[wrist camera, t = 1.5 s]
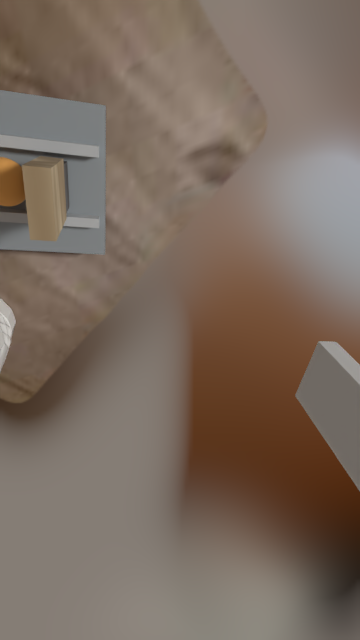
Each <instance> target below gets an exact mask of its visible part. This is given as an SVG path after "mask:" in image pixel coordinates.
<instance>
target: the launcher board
mask: <svg viewBox="0 0 360 640" xmlns="http://www.w3.org/2000/svg"><path fill="white" fill-rule="evenodd" d="M39 156H44V157H53V158H63V161H67V167H68V187H69V209H68V211H67V213H66V216H67V219H66V221H65V223H64V226H63V228H62V230H61V232H60V234H59V237H58V239H57V241H42V240H30V234H29V225H28V217H27V208H26V199H25V200H24V201H23V202H22V203H20V204H18V205H16V206H2V205H0V249H6V250H26V251H46V252H65V253H85V254H105V191H106V106H105V105H98V104H91V103H85V102H78V101H71V100H64V99H57V98H51V97H44V96H37V95H30V94H23V93H16V92H10V91H3V90H0V157H4V158H8V159H11V160H13V161H15V162H16V163H18V164H19V165H20V166H21V167H22V165H23V164H25V163H27V162H29V161H31V160H33V159H35V158H37V157H39Z"/></svg>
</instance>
